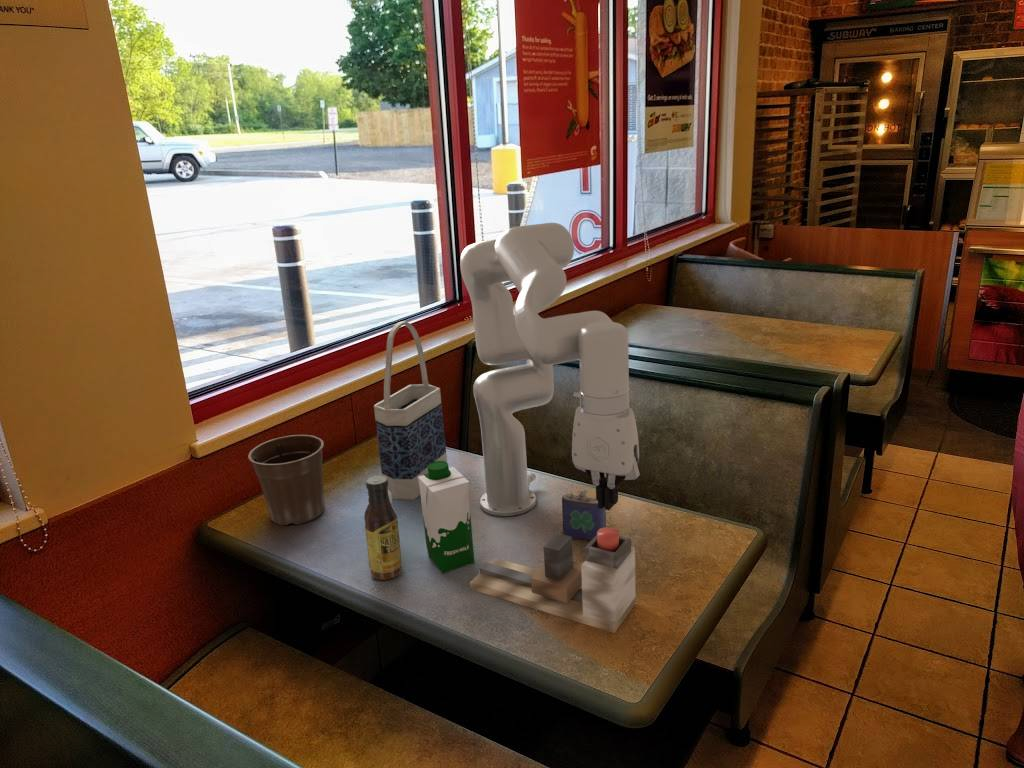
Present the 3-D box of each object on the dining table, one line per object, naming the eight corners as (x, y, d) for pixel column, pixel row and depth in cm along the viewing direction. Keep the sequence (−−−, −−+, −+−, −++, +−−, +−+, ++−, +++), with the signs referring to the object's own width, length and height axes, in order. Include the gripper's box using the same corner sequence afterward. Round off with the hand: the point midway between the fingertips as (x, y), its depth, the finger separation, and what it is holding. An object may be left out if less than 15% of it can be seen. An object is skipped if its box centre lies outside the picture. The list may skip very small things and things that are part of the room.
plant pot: (245, 520, 173) (232, 455, 168) (300, 490, 185) (289, 429, 180) (294, 537, 164) (281, 469, 159) (348, 505, 177) (338, 441, 171)
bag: (422, 464, 195) (405, 312, 182) (451, 469, 191) (436, 314, 178) (380, 496, 180) (358, 332, 167) (411, 502, 176) (391, 335, 163)
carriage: (531, 592, 135) (529, 548, 132) (553, 569, 141) (551, 526, 138) (567, 603, 131) (565, 557, 128) (587, 579, 138) (586, 535, 135)
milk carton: (462, 543, 157) (453, 455, 151) (481, 564, 150) (473, 471, 143) (422, 556, 154) (412, 466, 147) (439, 578, 146) (429, 484, 139)
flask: (608, 537, 156) (606, 490, 153) (604, 544, 154) (602, 497, 150) (565, 531, 160) (562, 485, 156) (560, 538, 157) (558, 491, 154)
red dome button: (593, 550, 128) (593, 535, 127) (602, 539, 130) (602, 525, 129) (613, 555, 126) (613, 540, 125) (622, 544, 129) (622, 529, 128)
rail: (470, 589, 142) (464, 522, 137) (496, 564, 149) (491, 500, 145) (614, 633, 127) (613, 560, 123) (635, 604, 135) (634, 534, 130)
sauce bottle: (388, 585, 145) (375, 491, 138) (363, 576, 148) (350, 484, 142) (410, 567, 150) (399, 476, 144) (386, 560, 153) (374, 470, 147)
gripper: (551, 402, 120) (556, 506, 126) (641, 416, 113) (641, 526, 119) (572, 387, 126) (576, 487, 132) (659, 399, 119) (659, 504, 125)
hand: (607, 505), depth 125 cm, fingers closed
